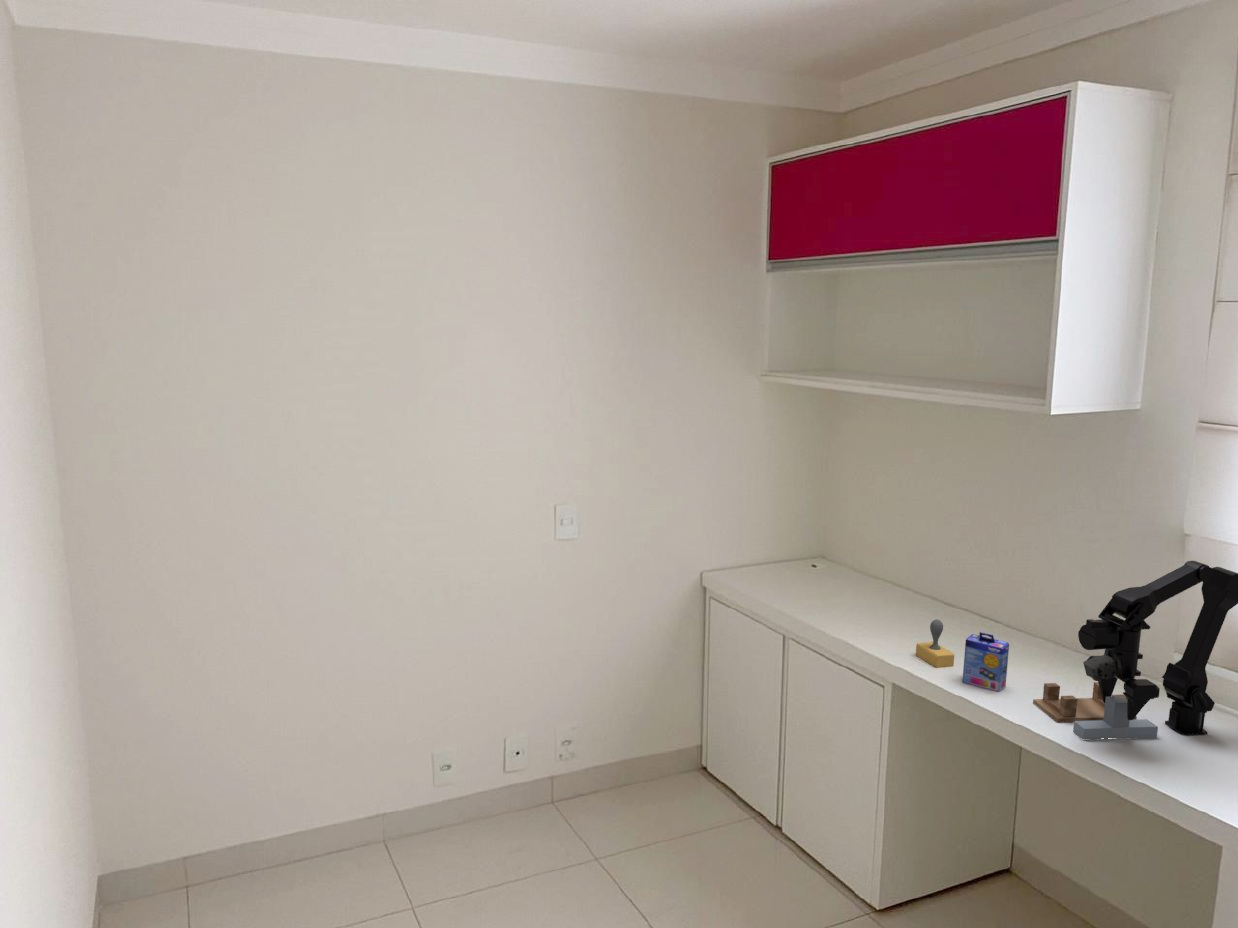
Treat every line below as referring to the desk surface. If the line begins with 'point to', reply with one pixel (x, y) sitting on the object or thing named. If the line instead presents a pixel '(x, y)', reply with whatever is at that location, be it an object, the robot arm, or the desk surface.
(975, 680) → the ink cartridge box
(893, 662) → the desk surface
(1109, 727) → the bar
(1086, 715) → the cradle
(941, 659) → the rubber stamp
